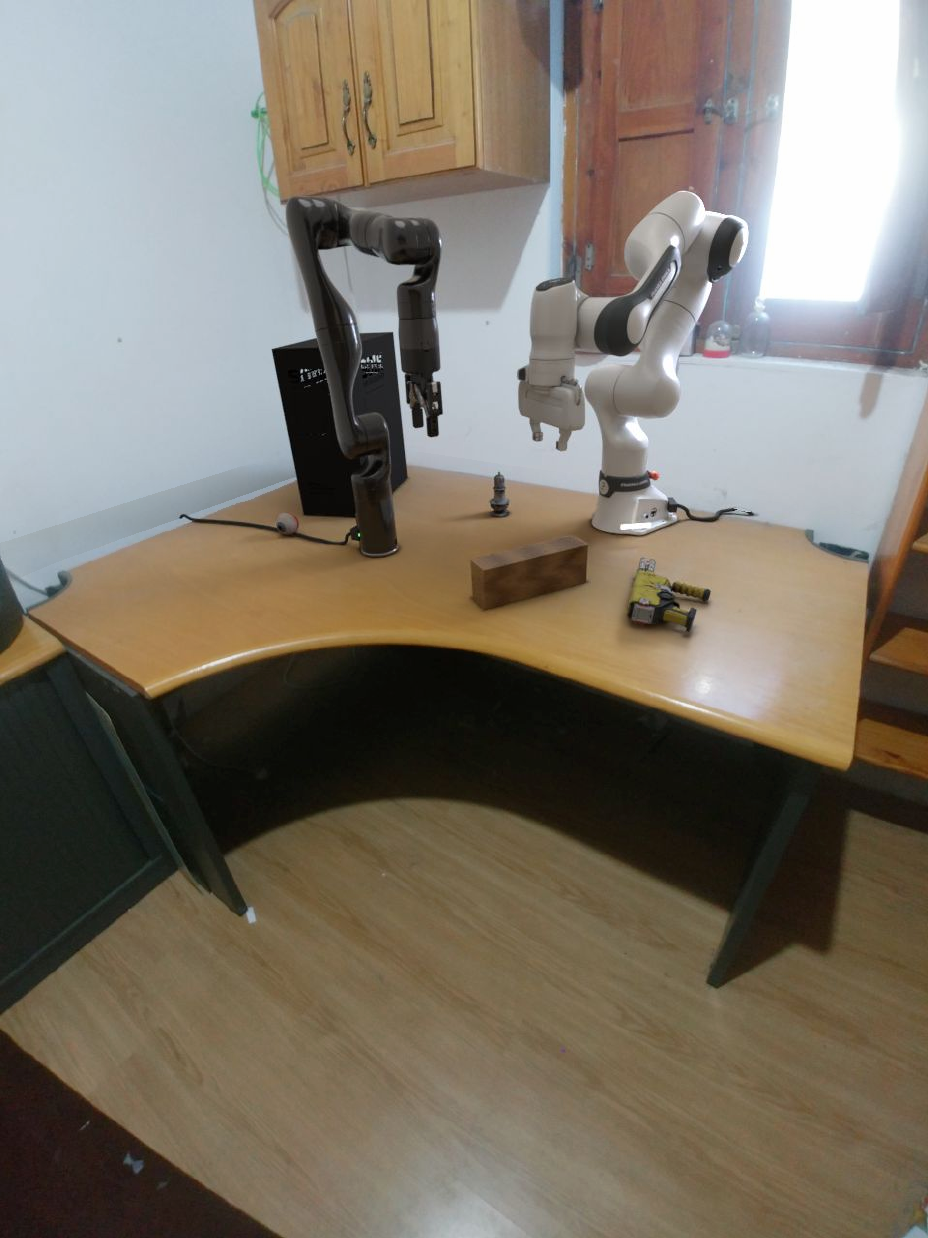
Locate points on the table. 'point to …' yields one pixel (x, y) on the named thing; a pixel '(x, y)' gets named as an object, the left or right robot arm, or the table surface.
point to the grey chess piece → (499, 497)
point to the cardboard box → (312, 416)
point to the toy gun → (660, 598)
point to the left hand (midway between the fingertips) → (425, 431)
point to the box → (528, 571)
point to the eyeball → (287, 523)
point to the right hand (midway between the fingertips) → (549, 445)
